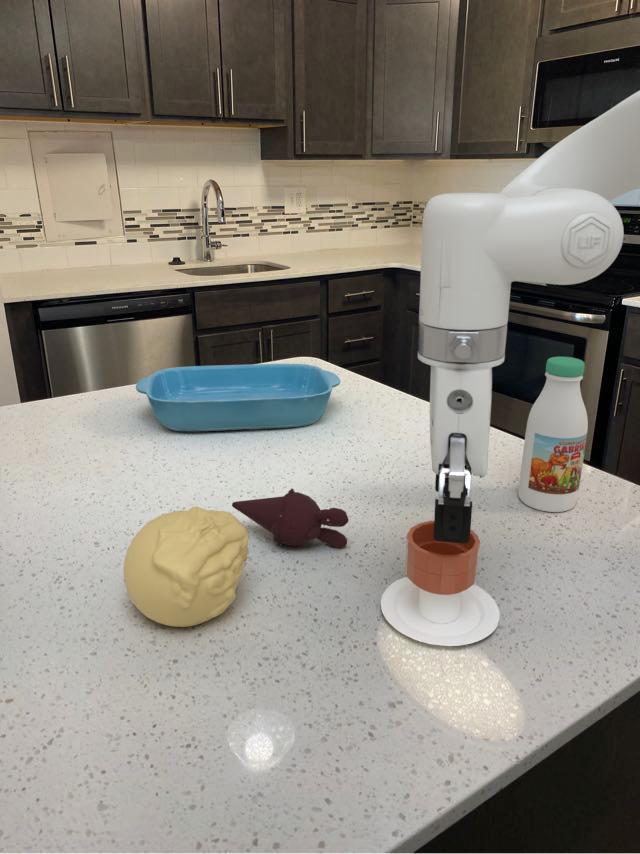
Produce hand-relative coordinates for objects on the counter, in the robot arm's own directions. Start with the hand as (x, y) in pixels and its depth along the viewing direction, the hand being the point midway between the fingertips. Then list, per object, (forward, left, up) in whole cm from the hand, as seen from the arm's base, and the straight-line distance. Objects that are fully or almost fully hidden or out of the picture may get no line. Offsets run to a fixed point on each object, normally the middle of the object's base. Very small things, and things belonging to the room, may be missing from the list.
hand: (450, 514), depth 64 cm
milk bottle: (-19, -25, -12) cm, 33 cm away
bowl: (+1, 0, -7) cm, 7 cm away
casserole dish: (+27, -59, -12) cm, 66 cm away
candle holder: (0, 0, -12) cm, 12 cm away
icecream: (+16, -14, -12) cm, 24 cm away
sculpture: (+26, -1, -12) cm, 29 cm away
